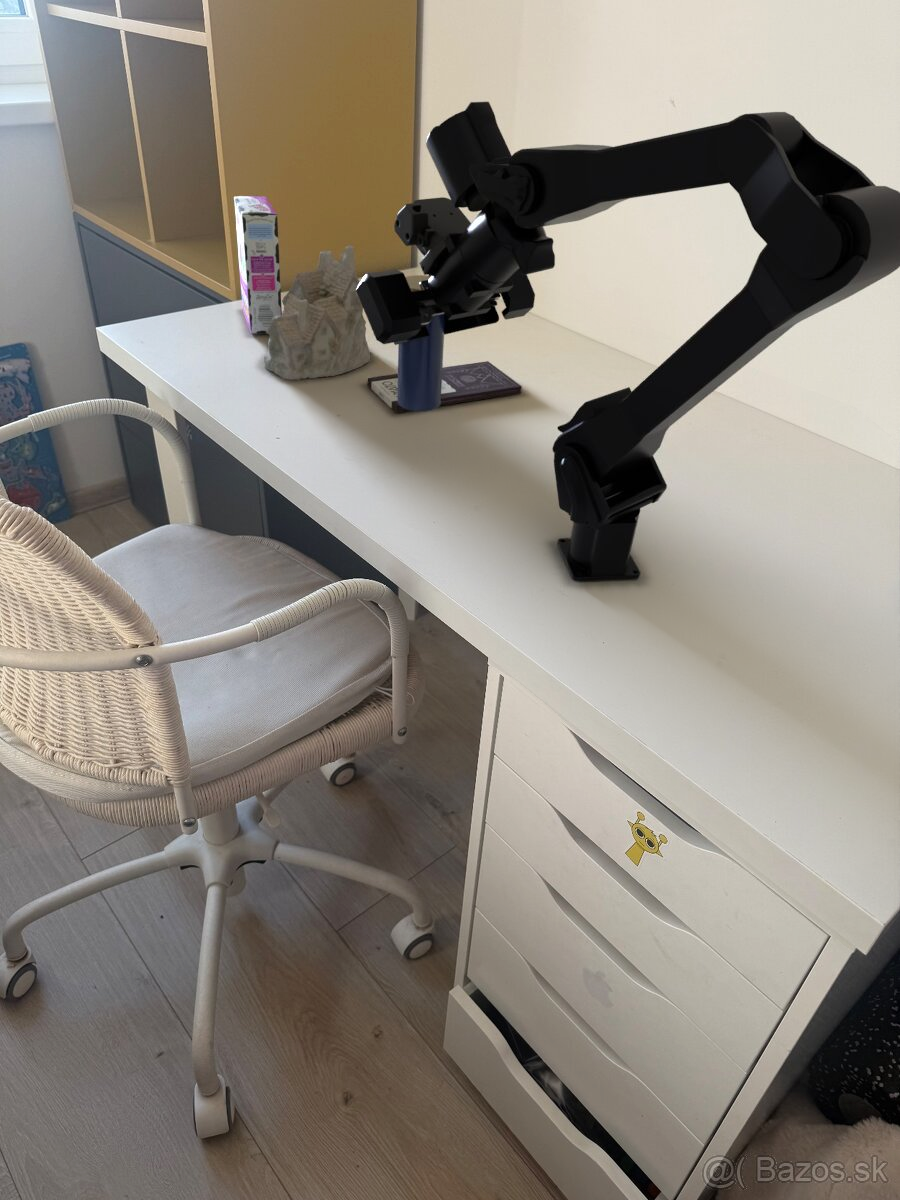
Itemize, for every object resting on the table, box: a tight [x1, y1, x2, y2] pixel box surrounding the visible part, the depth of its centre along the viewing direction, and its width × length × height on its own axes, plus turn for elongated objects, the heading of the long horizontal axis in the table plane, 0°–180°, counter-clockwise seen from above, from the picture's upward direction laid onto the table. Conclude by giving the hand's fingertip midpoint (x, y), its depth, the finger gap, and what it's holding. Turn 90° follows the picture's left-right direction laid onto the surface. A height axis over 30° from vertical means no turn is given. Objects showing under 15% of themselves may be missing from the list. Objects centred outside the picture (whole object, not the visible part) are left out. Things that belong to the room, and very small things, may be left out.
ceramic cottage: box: [263, 245, 371, 381], centre depth 111 cm, size 16×16×15 cm
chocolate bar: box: [367, 360, 522, 414], centre depth 108 cm, size 9×1×18 cm
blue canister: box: [397, 274, 445, 412], centre depth 88 cm, size 5×5×13 cm
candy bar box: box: [233, 195, 283, 335], centre depth 119 cm, size 11×5×16 cm, turn 17°
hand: (414, 336), depth 89 cm, fingers closed on blue canister, 5 cm apart
